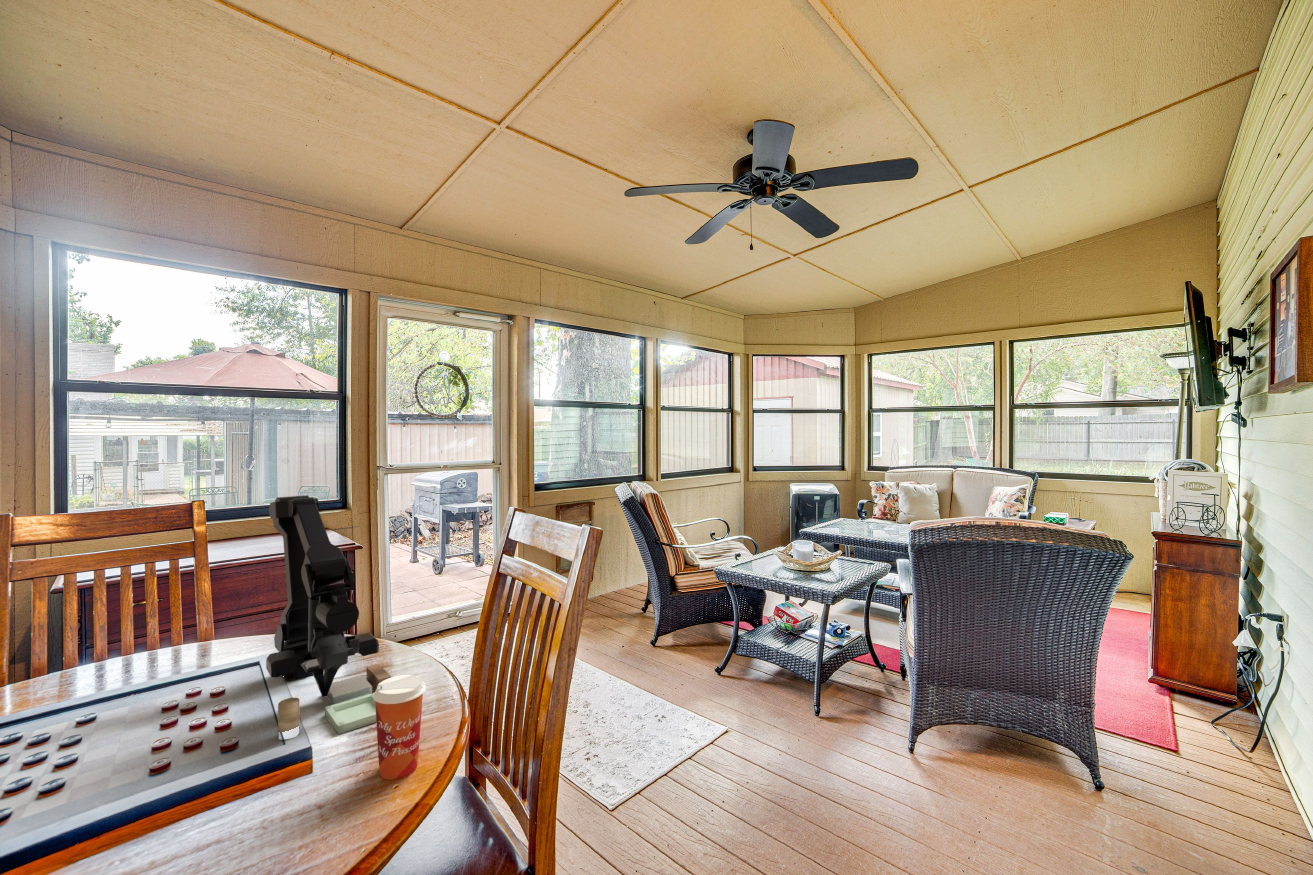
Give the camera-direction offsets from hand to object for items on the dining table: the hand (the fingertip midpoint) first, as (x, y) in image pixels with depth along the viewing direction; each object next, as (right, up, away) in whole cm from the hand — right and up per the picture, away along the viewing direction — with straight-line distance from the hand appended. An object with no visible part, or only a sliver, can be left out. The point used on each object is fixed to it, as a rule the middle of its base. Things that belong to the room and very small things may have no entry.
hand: (324, 695), depth 113 cm
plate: (+3, -2, +3) cm, 5 cm away
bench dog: (+7, -1, +7) cm, 10 cm away
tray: (+10, -1, -5) cm, 11 cm away
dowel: (+1, -1, -12) cm, 12 cm away
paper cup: (+25, -2, -21) cm, 33 cm away
